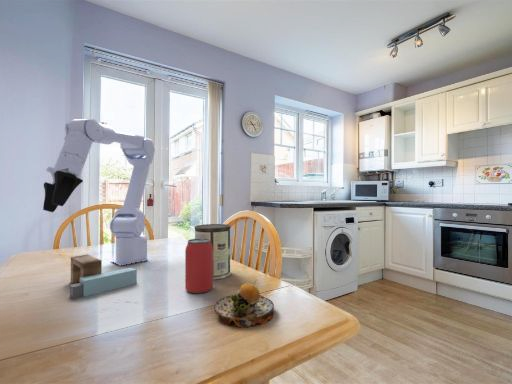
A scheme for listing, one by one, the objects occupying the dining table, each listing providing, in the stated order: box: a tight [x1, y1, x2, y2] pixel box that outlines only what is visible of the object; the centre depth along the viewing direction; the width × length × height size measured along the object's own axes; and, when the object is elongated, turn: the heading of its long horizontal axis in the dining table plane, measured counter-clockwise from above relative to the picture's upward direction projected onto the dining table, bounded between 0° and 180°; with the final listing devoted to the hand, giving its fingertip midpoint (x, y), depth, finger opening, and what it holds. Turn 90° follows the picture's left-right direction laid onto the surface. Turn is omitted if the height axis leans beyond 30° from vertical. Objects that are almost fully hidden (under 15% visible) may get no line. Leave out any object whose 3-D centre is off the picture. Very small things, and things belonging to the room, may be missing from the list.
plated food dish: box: [214, 280, 275, 329], centre depth 52 cm, size 12×12×8 cm
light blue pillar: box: [69, 267, 138, 300], centre depth 65 cm, size 14×3×4 cm, turn 139°
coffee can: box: [194, 223, 231, 281], centre depth 77 cm, size 10×10×14 cm
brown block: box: [70, 254, 103, 284], centre depth 68 cm, size 4×10×7 cm, turn 49°
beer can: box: [184, 238, 214, 294], centre depth 65 cm, size 7×7×12 cm
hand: (52, 208), depth 63 cm, fingers open, 7 cm apart
